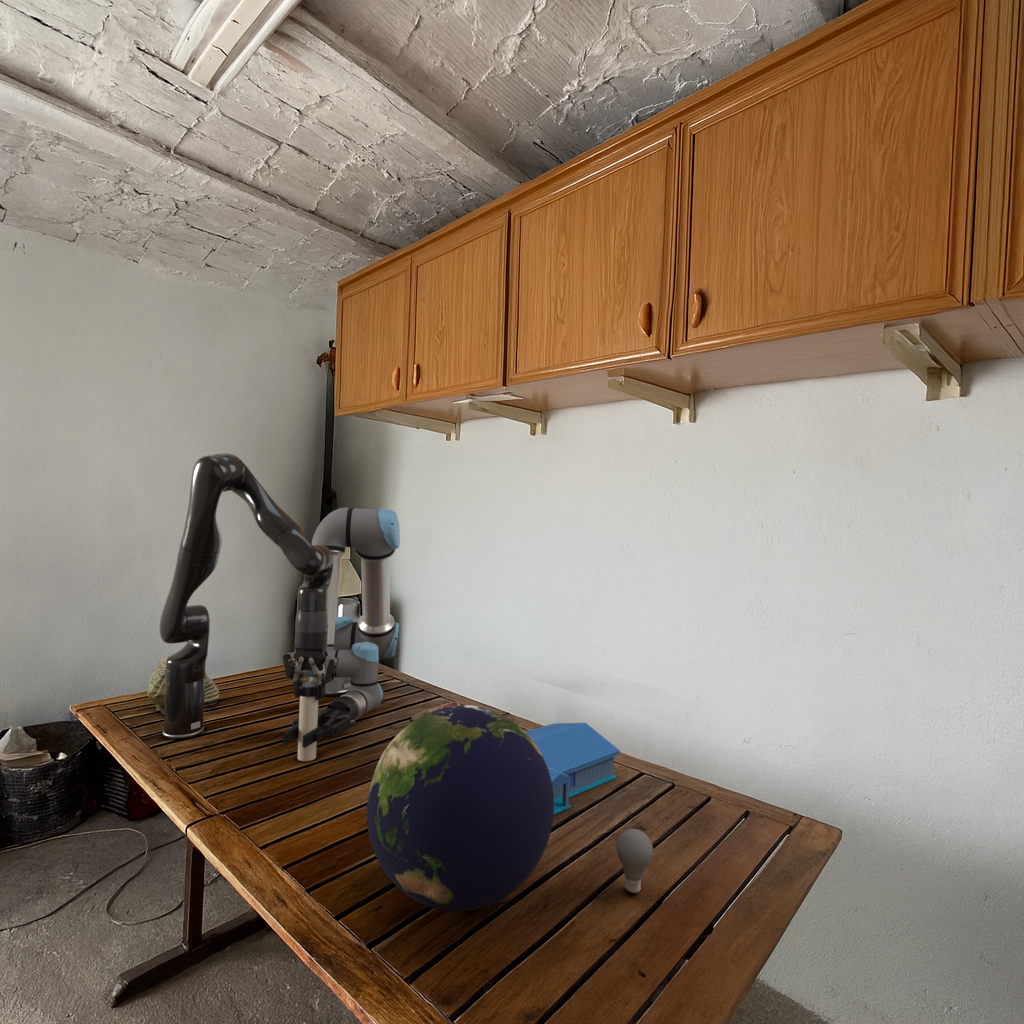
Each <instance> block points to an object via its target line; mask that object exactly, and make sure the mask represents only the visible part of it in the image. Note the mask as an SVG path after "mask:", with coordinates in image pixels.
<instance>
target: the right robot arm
mask: <svg viewBox="0 0 1024 1024" xmlns="http://www.w3.org/2000/svg"><path fill="white" fill-rule="evenodd" d="M400 530H401V529H400V522H399V517H398V515H397V513H396V511H395V510H392V509H383V508H359V507H340V508H338V509H334V510H333V511H331V512H330V513H328V514H327V515H325V517H324V518H323V519H322V521H320V523H319V525H318V526H317V527H316V530H315V531H314V534H313V536H312V539H311V544H312V545H324V546H326V547H328V548H329V549H330V551H331V552H332V555H333V563H334V564H333V572H332V576H331V581H330V585H329V589H328V640H327V649H326V651H327V654H328V656H330V657H333V658H335V657H337V658H338V659H339V660H338V664H337V668H336V672H335V676H334V680H333V681H330V682H329V683H326V686H325V696H324V697H337V698H335V699H333V700H332V701H330V702H329V704H328V705H327V707H326V708H325V709H322V710H320V711H318V727H317V728H315V729H314V730H312V731H310V732H309V733H307V734H305V735H304V736H303V748H306V747H307V746H309V745H311V744H312V743H314V742H315V741H317V742H318V741H320V740H321V739H323V738H324V739H325V738H327V737H329V738H330V739H334V738H336V737H337V736H339V735H340V734H342V733H344V732H345V731H347V730H348V729H350V728H354V727H356V725H357V724H356V723H357V721H356V720H357V719H359V718H361V717H363V716H364V715H366V714H367V713H369V712H371V711H373V710H374V709H375V708H377V706H379V705H380V704H381V703H382V701H383V699H384V691H383V689H382V686H381V684H379V682H378V680H379V679H378V677H379V662H380V660H384V659H385V660H386V659H392V658H394V656H395V654H396V649H397V645H398V637H399V631H400V630H399V629H400V624H399V623H398V622H396V620H395V618H394V616H393V615H392V614H391V557H392V556H393V555H394V554H395V552H396V550H397V549H399V548H400V545H401V534H400ZM346 548H355V554H356V555H357V557H359V558H360V563H361V565H360V567H361V607H362V608H361V609H362V615H361V616H360V617H359V618H358V620H357V621H354V619H353V617H352V616H337V615H338V601H339V590H340V589H339V588H340V575H341V564H342V563H341V560H342V558H343V557H344V556H345V554H346ZM295 664H296V665H295V668H296V667H297V664H298V663H297V662H296V663H295ZM326 664H327V662H326V661H325V662H324V667H325V675H326V671H327V667H328V666H327V665H326ZM318 671H319V669H318ZM305 677H306V678H309V679H308V681H315V682H317V680H316V677H315V676H314V675H313V671H310V670H306V672H305V673H304V676H303V678H305ZM338 696H339V697H338ZM298 730H299V717H296V718H295V719H294V720H292V722H291V728H289V729H288V730H286V731H285V732H283V743H282V744H283V745H285V746H286V745H288V744H290V743H291V742H294V741H295V740H298Z"/></svg>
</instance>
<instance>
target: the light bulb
mask: <svg viewBox="0 0 1024 1024" xmlns="http://www.w3.org/2000/svg"><path fill="white" fill-rule="evenodd" d="M615 849H616V854H617V857H618V859H619V861H620V863H621V865H622V867H623V873H624V874H623V875H624V876H625V878H624V888H625V890H627V891H628V892H630V893H634V894H635V893H639V892H640V891H641V889H642V887H641V886H642V879H643V877H644V875H645V871H646V868H647V867H648V866H649V864H650V863H651V861H652V859H653V855H654V847H653V843H652V841H651V838H649V836H648V835H647V834H646V833H645V832H643V831H642V830H641V829H636V828H629V829H627V830H625V831H623V832H622V833H621V834H620V835H619V837H618V839H617V841H616V847H615Z"/></svg>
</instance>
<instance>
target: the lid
mask: <svg viewBox="0 0 1024 1024" xmlns="http://www.w3.org/2000/svg"><path fill="white" fill-rule="evenodd" d="M316 685H318V684H317V682H315V681H309V680H308V681H303V682H302V683H300V684H299V687H298V694H299V695H300V696H303V697H312V696H316Z"/></svg>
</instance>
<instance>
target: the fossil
mask: <svg viewBox="0 0 1024 1024" xmlns="http://www.w3.org/2000/svg"><path fill="white" fill-rule="evenodd" d="M170 655H171V654H165V655H164V656H163V657H162V658H161V659H160V660H159V662H158V663H157V666H156V667H155V669H154V670H153V672H152V675H151V677H150V680H149V684H148V688H147V697H148V699H149V700H150V701H152V703H153V704H154V706H155V711H158V712H159V711H160V708H164V705H165V674H166V660H167V658H168V657H169V656H170ZM220 698H221V696H220V690H219V688H218V686H217V685H216V683H215V682H214V681H213V679H212V678H211V677H209V675H208V674H207V672H206V671H205V693H204V707H207V706H213V705H215V704H217V703H218V701H219V699H220ZM160 712H161V711H160Z"/></svg>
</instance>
